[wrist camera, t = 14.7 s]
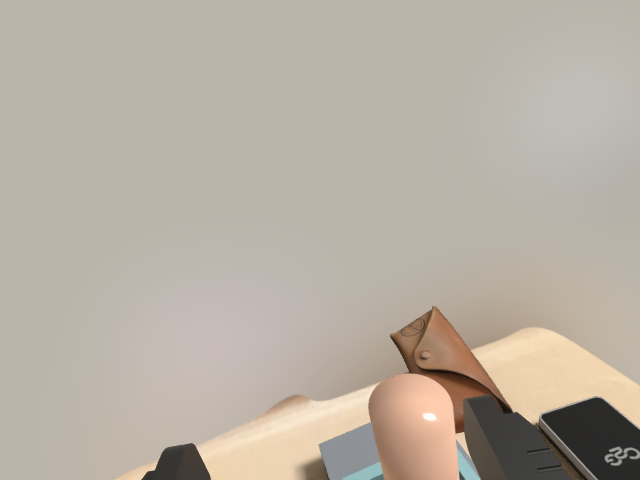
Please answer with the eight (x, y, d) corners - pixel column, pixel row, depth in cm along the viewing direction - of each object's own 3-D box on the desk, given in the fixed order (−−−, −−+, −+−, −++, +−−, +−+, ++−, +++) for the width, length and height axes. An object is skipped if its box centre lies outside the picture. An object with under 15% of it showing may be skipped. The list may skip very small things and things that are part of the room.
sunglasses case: (385, 332, 52) (403, 295, 49) (426, 342, 53) (445, 306, 51) (435, 443, 35) (466, 394, 33) (492, 452, 37) (525, 406, 34)
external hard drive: (597, 408, 35) (599, 394, 35) (736, 530, 25) (743, 514, 24) (535, 429, 35) (536, 414, 34) (652, 562, 25) (657, 546, 24)
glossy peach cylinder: (417, 583, 23) (391, 458, 18) (384, 508, 28) (356, 391, 23) (480, 549, 24) (472, 421, 19) (438, 481, 29) (422, 363, 24)
